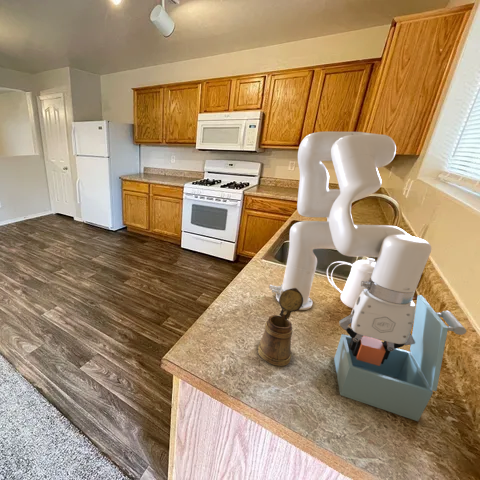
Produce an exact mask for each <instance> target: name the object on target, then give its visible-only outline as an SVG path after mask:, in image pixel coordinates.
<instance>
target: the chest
mask: <svg viewBox="0 0 480 480" xmlns="http://www.w3.org/2000/svg"><path fill="white" fill-rule="evenodd" d="M351 339H352V338H351V336H350V335H349V334H344V333H341V335H340V339H339V341H338V346H337V348H336V352H335V355H334V358H333V360H334V367H335V372H336V379H337V385H338V390H339V395H340V396H342V397H345V398H348V399H350V400H353V401H357V402H359V403H362V404H365V405H368V406H371V407H374V408H377V409H380V410H383V411H386V412H388V413H389V412H390V413H392V414H395V415H398V416H401V417H403V418H407V419H409V420H413V421H415V422H419V421H420V419H421V417H422V415H423V413H424V412H425V410H426V408H427V405H428V404H429V401H430V400H431V398H432V396H433V394H434V391H432V390H431V388H430V386H429V385H428V383H427V381H426V379H425V377H424V375H423V373H422V371H421V370H420V368H419V366H418V364H417V362H416V360H415V358H414V356H413V355H412V353H411V351H410V350H406V349H402V348H396V349H394V351H390V353H389V356H388V359H387V360H386V359H385V360H384V363H383V364H380V366H377V365H374V364H370V363H367V362H363V361H360V360H357V358H356V356H353V354H352V350H350V348H349V345H350V342H351Z"/></svg>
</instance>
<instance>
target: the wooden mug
mask: <svg viewBox="0 0 480 480" xmlns="http://www.w3.org/2000/svg"><path fill="white" fill-rule="evenodd" d="M278 303H279V306H280V308H281V310H280V313H279V315H277V314H273V315H270V316H269V317H268V319H267V320H266V322H265V325H264V332H263V333H262V337H261V340H260V341H259V344H258V347H257V353H258V355H259V357H260V358H261V359H262V360H264V361H265V362H266V363H269V364H271V365H273V366H278V367H284V366H288V365H289V364H290V362H291V360H292V347H291V346H292V335H293V324H292V322H291V321H290V320H289V319H290V316H291V314H292V313H294V312H297V311H300V310H299V309H300V308H301V306H302V304H303V297H302V294H301V293H300V292H299V290H298V289H297V288H292V289H288V290H285V291H283V292H282V294H281V296H280V299H279V301H278Z"/></svg>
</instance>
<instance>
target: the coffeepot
mask: <svg viewBox="0 0 480 480" xmlns="http://www.w3.org/2000/svg"><path fill="white" fill-rule="evenodd" d="M338 263H339V264H338ZM333 264H334V265H335V264H337V265H335V268H337V267H340V266H342V265H348V266H350V267H351V268H350V272H349V275H348V277H347V279H346V282H345V284H344V287H343V289H342V290H341V289H340V288H339V287H338V286H337V285H336V284H335V281H334V279H333V273H334V270H335V268H332V270H331V273H330V276H329V269H330V266H332V265H333ZM375 264H376V259H375V258H373V257H367V259H357V260H356V261H355V262H353V263H350V262H347V261H343V260H342V261H341V260H338V261H334V262H331V263H330V266H327V268H326V278H327V281H328V282H329V284H330V285H331V286H332V287H333V288H334V289H335V290H336V291H338V292H339V294H340V295H339V296H340V301H341V302H342V303H343V304H344V306H346V307H348V308H350V309H352V310H353V308H354V305H355V303H356V301H357V299H358V297H359V296H360V294H361V293H362V291H363V290H364V289H365V287H361V282H362V281H368V280H369V279H370V278H371V276H372V273H373V270H374V267H375Z"/></svg>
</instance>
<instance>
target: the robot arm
mask: <svg viewBox="0 0 480 480" xmlns="http://www.w3.org/2000/svg"><path fill="white" fill-rule="evenodd" d="M395 142H396V141H394V139H393V138H392V137H391V136H389V135H387V134H380V133H371V132H365V131H317V132H312V133H309V134H307V135H306V136H304V138H303V139H302V140H301V142H300V144H299V147H298V150H297V164H298V171H299V182H298V190H297V191H298V192H297V201H296V202H297V204H296V208H297V209H296V210H297V213H298V215H300V216H301V217H306V218H326V221H325V220H324V221H320V220H302V221H297V222H295V223H294V224H292V226H290V229H289V233H288V234H289V236H288V238H289V241H288V242H289V244H288V245H289V247H288V253H287V254H288V255H287V260H286V265H285V270H284V276H283V280H282V284H281V285H273V284H269V285H268V290H270V291H271V293H272V294H275V299H276V300H277V302H279V299H280V296H281V294H282V292H283V291H285V290H288V289H292V288H297V289H298V290H299V292H300V293H301V294H302V297H303V304H302V306H301V308H300V309H299V310H298V311H306V310H309V309H311V308H312V307H313V299H312V298H310V295H311V291H312V286H313V283H314V279H315V274H316V270H317V266H318V258H317V255H316V254H315V253H314V250H319V249H320V250H322V249H324V250H337V252H338V253H339V254H341V255H343V256H346V257H352V258H353V257H354V258H355V257H357V258H376V260H375V262H376V264H375V267H374V270H373V273H372V276H371V278H370V279H369V280H368V281H362V282H361V287H365V289H364V290H363V291H362V293H361V294H360V296H359V297H358V299H357V301H356V303H355V305H354V308H353V309H352V310H351V313H350V314H349V315H347V316H345V317H343V318H342V319H340V320H339V321H338V324H339V327H340V328H342V329H343V330H344V331H346V333H347V335H348V336H351V338H352V339H351V342H350V345H349V348H350V350H352V354H353V356H357V353H358V350H359V347H360V339H361V338H362V337H363V336H367V337H371V338H375V339H379V340H381V341H382V344H383V346H384V349H385V351H386V352H385V354H384V357H383V359H382V362H381V364H383V363H384V360H385V359H386V360H387V359H388V356H389V353H390V351H394V349H396V348H398V349H400V348H402V347H404V346H411V344H415V343H416V342H415V340H414V339H413V337H412V333H411V331H412V330H413V325H414V317H415V310H416V303H415V301H413V299H414V296H415V293H416V290H417V288H418V286H419V283H420V280H421V277H422V275H423V273H424V270H425V268H426V265H427V263H428V260H429V258H430V256H431V253H432V245H431V243H429V242H428V241H427V240H425V239H423V238H419V237H416V236H412V235H411V234H409V233H407V232H406V231H405V230H404V229H402V228H400V227H398V226H396V225H389V224H355V223H354V220H353V216H352V203H354V202H356V201H359V200H362V199H365V198H367V197H369V196H371V195H373V194H375V193H376V192H377V191H378V190H379V189H380V188H381V187H382V183H383V182H382V178H381V176H380V173H379V170H378V168H383V167H386V166H388V165H389V164H390V163H391V162H392V161H393V160H394V158H395V156H396V153H397V152H396V151H397V146H396V143H395ZM326 161H327V162H332V165H333V169H334V172H335V176H336V180H337V184H338V188H339V189H337V188H329V181H330V173H329V171H328V169H327V167H326V165H325V164H324V163H323V162H326Z"/></svg>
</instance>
